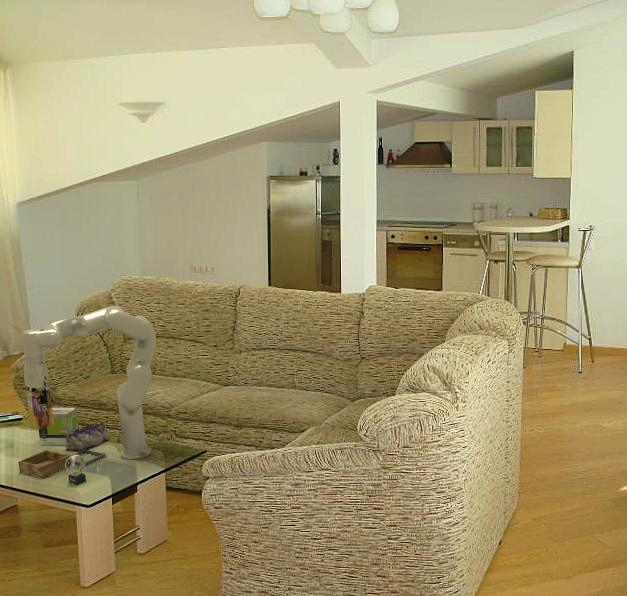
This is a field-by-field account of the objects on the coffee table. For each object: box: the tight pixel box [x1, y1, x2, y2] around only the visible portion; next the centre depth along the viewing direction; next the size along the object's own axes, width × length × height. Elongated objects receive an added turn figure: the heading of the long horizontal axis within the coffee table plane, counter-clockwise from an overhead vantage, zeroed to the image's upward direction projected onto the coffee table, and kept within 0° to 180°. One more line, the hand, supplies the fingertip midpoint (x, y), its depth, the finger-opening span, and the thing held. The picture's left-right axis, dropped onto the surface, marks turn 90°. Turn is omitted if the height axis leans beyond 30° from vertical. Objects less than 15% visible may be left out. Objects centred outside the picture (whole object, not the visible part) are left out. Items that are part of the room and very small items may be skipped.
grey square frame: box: [70, 449, 107, 467], centre depth 397 cm, size 13×13×2 cm
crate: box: [18, 449, 71, 480], centre depth 388 cm, size 15×15×5 cm
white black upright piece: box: [64, 454, 87, 486], centre depth 372 cm, size 6×8×11 cm
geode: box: [64, 422, 109, 452], centre depth 415 cm, size 20×12×10 cm, turn 143°
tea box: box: [38, 407, 80, 446], centre depth 421 cm, size 15×10×15 cm, turn 78°
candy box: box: [26, 388, 54, 431], centre depth 384 cm, size 9×4×15 cm, turn 137°
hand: (39, 402), depth 384 cm, fingers closed on candy box, 4 cm apart
